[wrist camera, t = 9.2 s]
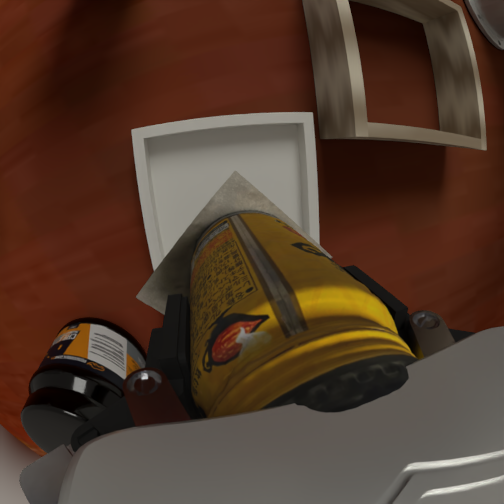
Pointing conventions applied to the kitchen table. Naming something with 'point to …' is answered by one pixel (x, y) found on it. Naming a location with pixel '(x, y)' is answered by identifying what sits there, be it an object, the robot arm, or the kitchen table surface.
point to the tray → (224, 169)
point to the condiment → (274, 313)
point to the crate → (351, 80)
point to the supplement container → (78, 379)
